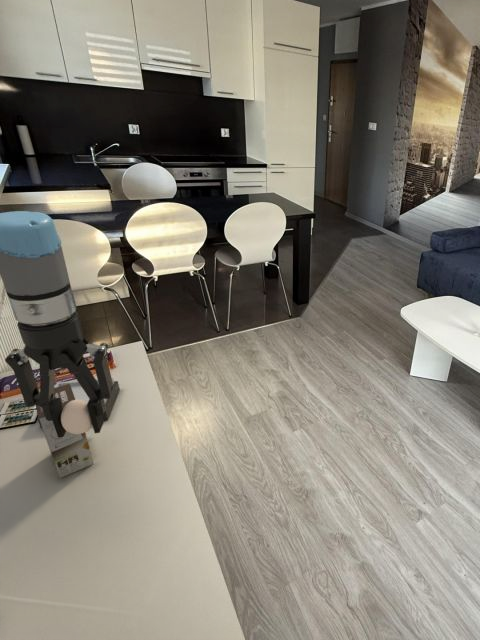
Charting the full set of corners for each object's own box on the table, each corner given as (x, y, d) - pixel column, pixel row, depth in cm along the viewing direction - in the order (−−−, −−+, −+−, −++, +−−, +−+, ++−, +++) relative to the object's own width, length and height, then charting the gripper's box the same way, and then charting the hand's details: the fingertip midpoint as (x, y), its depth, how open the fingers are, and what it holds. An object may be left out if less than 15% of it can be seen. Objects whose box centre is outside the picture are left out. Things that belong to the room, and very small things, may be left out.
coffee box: (95, 463, 86) (78, 406, 79) (59, 479, 82) (38, 419, 75) (86, 438, 92) (69, 382, 85) (52, 451, 88) (32, 394, 81)
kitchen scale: (40, 429, 93) (34, 413, 91) (59, 395, 103) (54, 381, 101) (107, 421, 97) (103, 405, 95) (120, 389, 107) (116, 375, 105)
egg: (58, 439, 69) (48, 409, 66) (78, 419, 73) (69, 391, 70) (86, 442, 69) (77, 413, 66) (104, 422, 73) (96, 394, 70)
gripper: (-40, 331, 55) (11, 453, 65) (107, 324, 60) (132, 438, 70) (-11, 307, 61) (31, 421, 71) (119, 302, 66) (141, 409, 76)
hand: (81, 429), depth 71 cm, fingers closed on egg, 5 cm apart
